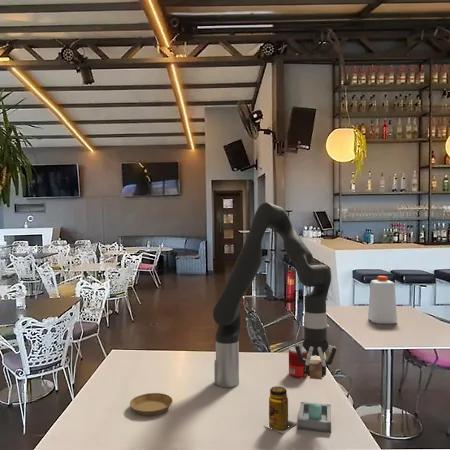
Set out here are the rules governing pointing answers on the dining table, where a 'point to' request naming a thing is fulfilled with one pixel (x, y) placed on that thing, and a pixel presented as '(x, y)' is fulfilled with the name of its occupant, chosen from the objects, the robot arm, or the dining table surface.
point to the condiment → (279, 410)
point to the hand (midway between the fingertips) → (315, 375)
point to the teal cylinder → (315, 411)
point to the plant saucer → (151, 403)
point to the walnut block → (315, 369)
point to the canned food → (297, 363)
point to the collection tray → (313, 424)
